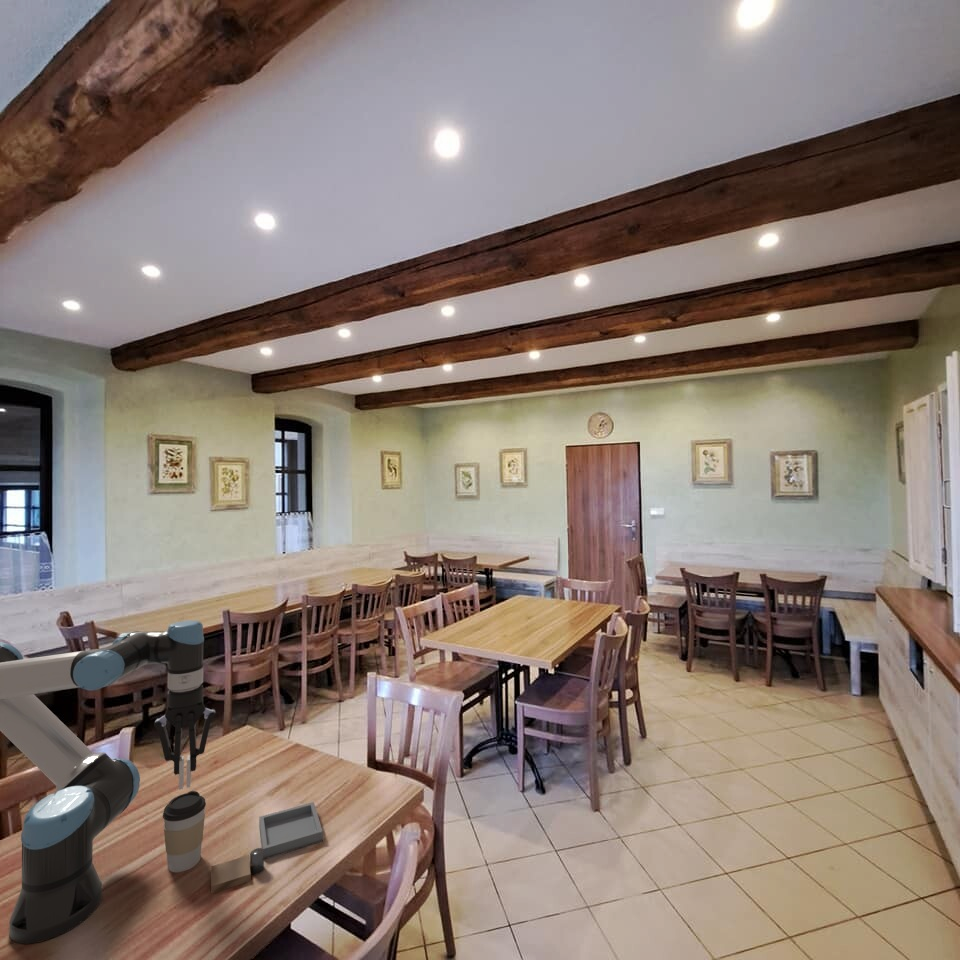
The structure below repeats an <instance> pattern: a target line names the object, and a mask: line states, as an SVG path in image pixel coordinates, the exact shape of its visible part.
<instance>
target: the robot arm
mask: <svg viewBox="0 0 960 960" xmlns="http://www.w3.org/2000/svg"><path fill="white" fill-rule="evenodd" d="M204 642H205V637H204V625H203V623H202V622H200V621H198V620H193V619H191V620H181V621H177V622H173V623H171V624H170V625H168V627H167V630H165V631H163V630H162V631H158V630H157V631H155V630H154V631H138V630H136V631H135V630H134V631H129V632H123V633H120V634H119V635H117V637H116V638H115V639H114V641H112V644H111V645H108V646H105V647H101V648H94V649H88V650H80V651H79V650H78V651H73V652H65V653H59V654H58V653H57V654H53V655H46V656H45V655H44V656H39V657H38V656H37V657H29V658H24V656H23V654H22V652H20V650H19V649H18V648H16V646H14V645H12V644H10V643H6V642H4V641H3V642H2V641H0V732H1V734H3V735H4V736H5V737H6V738H7V739H8V740H9V741H10V742H11V743H12V744H13V745H14V746H15V747H16V749H19V751H20V752H21V753H23V755H25V757H26V758H28V759H29V761H30V762H31V763H33V765H34V766H36V767H37V768H38V769H39V770H40V771H41V772H42V773H43V774H44V775H45V776H46V777H47V778H48V780H49V781H51V782H52V783H53V784H54V785H55V791H54V793H49V794H48V795H45V796H44V797H42V799H40V800H38V801H37V802H36V803H35V804H34V805H33V806H31V807H30V808H29V810H28V811H27V813H26V814H25V816H24V819H23V824H22V830H21V835H20V837H21V839H20V840H21V889H20V892H19V895H18V898H17V900H16V902H15V906H14V908H13V911H12V913H11V916H10V920H9V926H8V927H9V928H8V929H9V933H8V934H9V935H8V936H9V938H10V939H11V940H12V941H13V942H15V943H18V944H34V943H40V942H43V941H44V942H45V941H48V940H50V939H53V938H56V937H58V936H61V935H62V934H65V933H67V932H68V931H70V930H72V929H74V928H75V927H76V926H78V925H80V924H81V923H83V922H84V921H85V920H86V919H88V918H89V917H90V916H91V915H92V914H93V913H94V912H95V911H96V910H97V908H98V907H99V905H100V903H101V902H102V898H103V885H102V881H101V879H100V876H99V874H98V871H97V870H96V868H95V865H94V864H93V862H94V861H93V855H94V854H93V850H94V849H93V847H94V845H93V844H94V839H95V838H96V837H97V836H99V834H100V833H102V831H103V830H105V829H106V828H107V826H109V825H110V824H111V823H112V822H113V821H114V820H115V819H116V818H117V817H118V816H119V815H121V814H122V813H123V812H124V811H125V810H127V809H128V807H129V806H130V804H131V803H133V801H134V799H135V798H136V796H137V795H138V793H139V789H140V784H141V783H140V782H141V777H140V776H141V775H140V772H139V770H138V767H137V766H136V765H135V763H133V762H132V761H131V760H129V759H127V758H120V757H118V758H114V759H112V758H111V757H110V756H109V755H108V754H107V753H106V752H97V753H96V752H93V751H92V750H91V749H90V748H89V747H88V746H87V745H86V744H85V743H84V742H83V741H82V740H81V739H80V738H79V737H77V735H76V734H75V733H74V732H73V731H72V730H71V729H70V728H69V727H68V726H67V725H66V724H64V722H63V721H61V720H60V719H59V717H58V716H57V715H56V714H54V713H53V711H51V710H50V709H49V708H48V707H47V705H45V704H44V703H43V702H42V701H41V700H40V698H38V697H37V696H36V695H37V694H43V693H49V692H57V691H62V690H63V691H64V690H70V689H77V688H80V689H83V690H86V691H88V692H89V691H90V692H91V691H97V690H100V689H103V688H105V687H108V686H110V685H112V684H114V683H115V682H116V681H119V680H120V679H121V678H123V677H125V676H127V675H129V674H130V673H133V672H134V671H135V670H138V669H139V668H141V667H143V666H147V665H154V664H155V665H159V664H162V665H164V664H167V689H168V690H167V706H166V707H167V708H166V710H165V713H164V715H162V716H161V717H158V718H156V719H155V721H154V723H153V727H154V728H155V729H156V731H157V732H158V735H159V738H160V743H161V748H162V749H161V750H162V752H163V756H164V761H166V762H169V761H171V762H173V773H174V776H176V775H179V776H178V779H179V780H178V786H179V787H178V790H183V789H184V784H185V755H183V756H181V754H182V753H181V752H182V737H183V728H184V727H188V736H189V737H188V741H189V742H188V743H189V754H188V755H187V757H186V788H187V789H188V788H191V785H192V784H191V783H192V772H195V771H196V769H197V757H198V756H199V755H202V754H204V753H205V751H206V745H207V741H208V735H209V732H210V727H211V722H212V721H213V719H214V718H215V716H216V709H215V708H212V709H210V708H208V707H206V704H205V703H204V685H203V683H204ZM203 714H204V716H203ZM202 716H203V719H205V720H204V724H203V725H204V726H203V729H202V733H201V738H200V744H199V746H198V747H197V731H196V730H197V729H196V724H197V722H198V721H199V719H200V718H201V717H202ZM168 722H169V723H170V724H171V726H173V727H175V728H174V748H173V749H174V751H172V748H171V747H172V746H171V744H170V743H171V741H170V738H169V735H168V730H167V726H166V725H167V723H168Z"/></svg>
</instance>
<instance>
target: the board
mask: <svg viewBox="0 0 960 960" xmlns="http://www.w3.org/2000/svg"><path fill="white" fill-rule="evenodd" d="M210 870H211V871H210V872H211V873H210V874H211V877H210V894H214V893H217V892H219V891H223V890H227V889H230V888H232V887H236V886H238V885H242V884H244V883H248V882H250V881H251V879H252V877H251V875H252V874H251V873H250V854H248V855H244V856H241V857H238V858H234V859H231V860H227V861H224V862H221V863H218V864H214V865H212V866H211V869H210Z"/></svg>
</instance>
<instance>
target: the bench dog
mask: <svg viewBox="0 0 960 960" xmlns="http://www.w3.org/2000/svg"><path fill="white" fill-rule="evenodd" d="M249 861H250V873H251V875H258V874H260V873H262V872H263V871H264V869H265V859H264V849H262V847H257V848H254V849H253V850H251V852H250V853H249Z"/></svg>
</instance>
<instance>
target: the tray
mask: <svg viewBox="0 0 960 960" xmlns="http://www.w3.org/2000/svg"><path fill="white" fill-rule="evenodd" d="M258 818H259V819H258V820H259V821H258V822H259V823H258V827H259V835H260V836H259V837H260V844H261V848H262V849H264V860H266V859H270V858H273V857H276V856H279V855H283V854H286V853H289V852H291V851H296V850H299V849H302V848H305V847H308V846H312V845H315V844H318V843H322V842H323V839H324V838H323V836H324V835H323V829H322V826H321V822H320V819H319V814H318V812H317V809H316V805H315V802H314V801H312V802H309V803H305V804H302V805H299V806H293V807H291V808H287V809H284V810H279V811H277V812H272V813H268V814H265V815H264V814H263V815H260V816H259V817H258Z"/></svg>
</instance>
